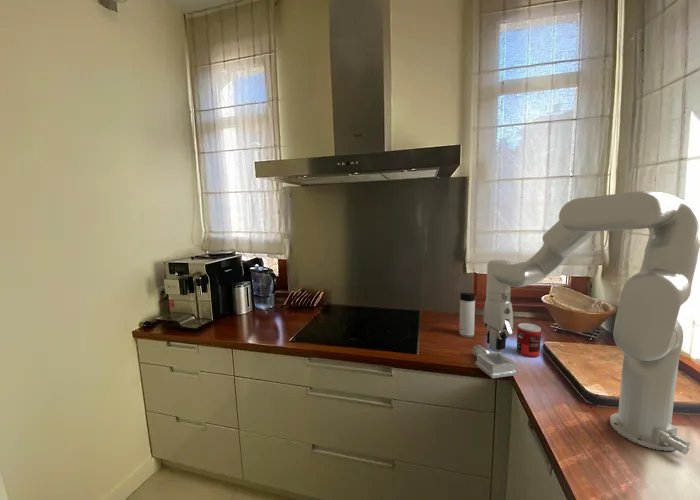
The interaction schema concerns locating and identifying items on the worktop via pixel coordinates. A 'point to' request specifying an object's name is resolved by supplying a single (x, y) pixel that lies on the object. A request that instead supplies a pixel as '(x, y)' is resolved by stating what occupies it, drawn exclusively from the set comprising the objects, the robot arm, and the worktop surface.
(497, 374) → the fitting
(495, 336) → the canister
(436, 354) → the worktop surface
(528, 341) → the canned food
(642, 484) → the worktop surface
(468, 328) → the travel mug
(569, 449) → the worktop surface
